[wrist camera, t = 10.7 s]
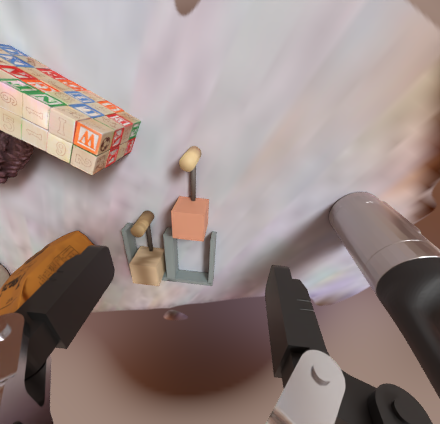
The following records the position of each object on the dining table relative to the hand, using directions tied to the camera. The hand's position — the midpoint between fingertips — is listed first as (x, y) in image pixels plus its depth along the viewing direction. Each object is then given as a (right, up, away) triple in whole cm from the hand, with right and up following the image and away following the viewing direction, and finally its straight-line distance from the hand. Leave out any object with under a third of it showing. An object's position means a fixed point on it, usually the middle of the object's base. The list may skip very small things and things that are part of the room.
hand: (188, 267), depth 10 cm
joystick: (-4, +7, +31) cm, 32 cm away
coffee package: (-34, -6, +42) cm, 55 cm away
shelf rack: (-10, -7, +40) cm, 42 cm away
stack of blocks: (-22, +21, +25) cm, 40 cm away
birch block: (-14, -4, +39) cm, 42 cm away
